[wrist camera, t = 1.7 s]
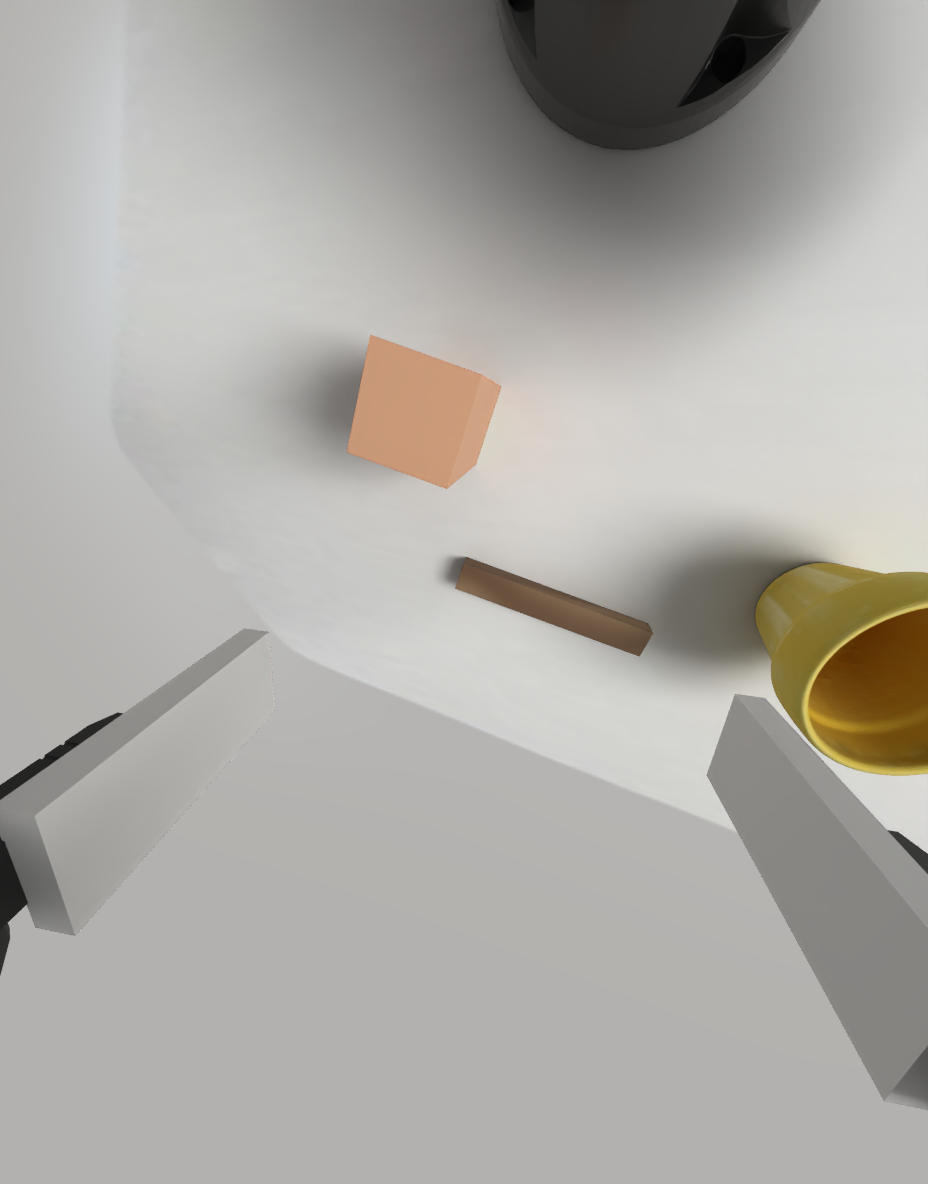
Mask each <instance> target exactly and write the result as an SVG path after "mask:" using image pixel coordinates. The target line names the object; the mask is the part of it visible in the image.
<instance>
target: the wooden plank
mask: <svg viewBox="0 0 928 1184" xmlns="http://www.w3.org/2000/svg"><path fill="white" fill-rule="evenodd" d="M455 589H458V590H461V591H464V592H466V593H469V594H472V595H474V596H477V597H480V598H482V599H485V600H488V601H491V602H493V603H496V604H499V605H501V606H504V607H507V608H510V609H512V610H515V611H518V612H520V613H523V614H526V615H529V616H531V617H534V618H537V619H539V620H542V621H545V622H547V623H550V624H553V625H556V626H558V627H561V628H564V629H566V630H569V631H572V632H575V633H577V634H580V635H583V636H585V637H588V638H591V639H593V640H596V641H599V642H602V643H604V644H607V645H610V646H612V647H615V648H618V649H621V650H623V651H626V652H629V653H631V654H634V655H637V656H640V655H641V653H642V651H643V650H644V648H645V646H646V644H647V643H648V641H649V639H650V638H651V636H652V634H653V632H652V630H651V628H650V627H649V625H648V624H647V623H644V622H642V621H639V620H636V619H634V618H631V617H628V616H625V615H623V614H620V613H617V612H615V611H612V610H609V609H606V608H604V607H601V606H598V605H596V604H593V603H590V602H587V601H585V600H582V599H579V598H576V597H574V596H571V595H568V594H566V593H563V592H560V591H557V590H555V589H552V588H549V587H547V586H544V585H541V584H538V583H536V582H533V581H530V580H528V579H525V578H522V577H519V576H517V575H514V574H511V573H509V572H506V571H503V570H500V569H498V568H495V567H492V566H489V565H487V564H484V563H481V562H479V561H476V560H473V559H470V558H468V557H467V558H466V560H465V562H464V565H463V568H462V570H461V573H460V576H459V579H458V582H457V585H456V588H455Z"/></svg>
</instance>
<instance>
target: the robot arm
mask: <svg viewBox="0 0 928 1184" xmlns="http://www.w3.org/2000/svg"><path fill="white" fill-rule="evenodd" d="M820 1H821V0H496V5H497V11H498V16H499V21H500V26H501V30H502V33H503V37H504V41H505V44H506V47H507V50H508V53H509V55H510V58H511V60H512V63H513V65H514V67H515V70H516V72H517V74H518V76H519V78H520V79H521V81H522V83H523V85H524V86H525V88H526V90H527V91H528V93H529V94H530V96H531V97H532V98H533V100H534V101H535V102H536V104H537V105H538V106H539V107H540V108H541V110H542V111H543V112H544V113H545V114H546V115H547V116H548V117H549V118H550V119H551V120H552V121H554V122H555V123H556V124H557V125H559V126H560V127H561V128H563V129H564V130H566V131H567V132H569V133H570V134H572V135H574V136H576V137H578V138H580V139H582V140H584V141H587V142H589V143H592V144H595V145H599V146H603V147H608V148H615V149H641V148H649V147H654V146H659V145H662V144H666V143H669V142H672V141H675V140H678V139H680V138H683V137H685V136H687V135H689V134H692V133H694V132H696V131H698V130H699V129H701V128H703V127H705V126H706V125H708V124H710V123H711V122H713V121H714V120H716V119H717V118H719V117H720V116H722V115H723V114H724V113H726V112H727V111H728V110H730V109H731V108H732V107H734V106H735V105H736V104H737V103H738V102H739V101H741V100H742V99H743V98H744V97H745V96H746V95H747V94H748V93H749V92H750V91H751V90H752V89H754V88H755V87H756V86H757V85H758V83H759V82H760V81H761V80H762V79H763V78H764V77H765V76H766V75H767V74H768V73H769V71H770V70H771V69H772V68H773V67H774V66H775V64H776V63H777V62H778V61H779V59H780V58H781V57H782V55H783V54H784V53H785V52H786V50H787V49H788V48H789V46H790V45H791V43H792V42H793V40H794V39H795V37H796V36H797V35H798V33H799V32H800V30H801V29H802V27H803V26H804V24H805V23H806V21H807V20H808V18H809V17H810V15H811V14H812V12H813V11H814V10H815V8H816V7H817V5H818V4H819V2H820ZM274 712H275V701H274V688H273V675H272V663H271V651H270V638H269V632H267V631H258V630H252V629H243V630H242V631H240V632H239V633H237V634H236V635H235V636H233V637H232V638H231V639H229V640H227V641H226V642H225V643H223V644H222V645H220V646H219V647H217V648H216V649H215V650H213V651H212V652H210V653H209V654H207V655H206V656H205V657H203V658H202V659H200V660H199V661H198V662H196V663H195V664H193V665H192V666H190V667H189V668H187V669H186V670H185V671H183V672H182V673H180V674H179V675H178V676H176V677H175V678H173V679H172V680H171V681H169V682H168V683H166V684H165V685H163V686H162V687H161V688H159V689H158V690H156V691H155V692H153V693H152V694H151V695H149V696H148V697H146V698H145V699H143V700H142V701H141V702H139V703H138V704H136V705H135V706H133V707H132V708H131V709H129V710H128V711H126V712H125V713H116V714H114V715H111V716H109V717H107V718H105V719H102V720H100V721H98V722H95V723H93V724H91V725H89V726H87V727H86V728H84V729H83V730H81V731H80V732H79V733H77V734H76V735H74V736H72V737H71V738H69V739H68V740H67V741H65V744H64V745H59V746H58V747H56V748H55V749H53V750H52V751H50V752H49V753H47V754H46V755H45V757H44V758H43V759H38V760H37V761H36V762H34V763H32V764H31V765H29V766H28V767H26V768H25V769H24V770H22V771H20V772H19V773H18V774H16V775H15V776H13V777H12V778H10V779H9V780H7V781H6V782H5V783H3V784H1V785H0V974H1V971H2V967H3V963H4V959H5V955H6V952H7V948H8V944H9V940H10V928H9V925H8V922H9V921H10V920H11V919H12V918H13V917H14V916H15V915H16V914H17V913H18V912H19V911H20V910H21V909H22V908H23V907H24V906H25V905H27V907H28V909H29V912H30V914H31V917H32V920H33V922H34V925H35V927H36V928H40V929H45V930H50V931H54V932H60V933H64V934H69V935H74V936H76V935H77V934H78V932H79V931H80V930H81V929H82V928H83V927H84V926H85V925H86V923H87V922H88V921H89V920H90V919H91V918H92V917H93V916H94V914H95V913H96V912H97V911H98V910H99V909H100V908H101V906H102V905H103V904H104V903H105V902H106V901H107V899H109V897H110V896H111V895H112V894H113V893H114V892H115V891H116V890H117V888H118V887H119V886H120V885H121V884H122V883H123V882H124V880H125V879H126V878H127V877H128V876H129V875H130V874H131V873H132V872H133V870H134V869H135V868H136V867H137V866H138V865H139V864H140V862H141V861H142V860H143V859H144V858H145V857H146V856H147V855H148V853H149V852H150V851H151V850H152V849H153V848H154V847H155V846H156V845H157V843H158V842H159V841H160V840H161V839H162V838H163V837H164V836H165V834H166V833H167V832H168V831H169V830H170V829H171V828H172V827H173V825H174V824H175V823H176V822H177V821H178V820H179V819H180V818H181V816H182V815H183V814H184V813H185V812H186V811H187V810H188V809H189V807H190V806H191V805H192V804H193V803H194V801H196V800H197V798H198V797H199V796H200V795H201V794H202V793H203V792H204V790H205V789H206V788H207V787H208V786H209V785H210V784H211V783H212V781H213V780H214V779H215V778H216V777H217V776H218V775H219V774H220V772H221V771H222V770H223V769H224V768H225V767H226V766H227V765H228V763H229V762H230V761H231V760H232V759H233V758H234V757H235V755H236V754H237V753H238V752H239V751H240V750H241V749H242V747H243V746H244V745H245V744H246V743H247V742H248V741H249V740H250V739H251V737H252V736H253V735H254V734H255V733H256V732H257V731H258V730H259V729H260V727H261V726H262V725H263V724H264V723H265V722H266V721H267V720H268V718H269V717H270V716H271V715H272V714H273V713H274ZM707 777H708V779H709V780H710V782H711V784H712V786H713V788H714V790H715V791H716V793H717V795H718V797H719V799H720V801H721V802H722V804H723V806H724V808H725V810H726V812H727V814H728V815H729V817H730V819H731V821H732V823H733V825H734V826H735V828H736V830H737V832H738V834H739V836H740V837H741V839H742V841H743V843H744V845H745V846H746V848H747V850H748V852H749V854H750V856H751V858H752V859H753V861H754V863H755V865H756V866H757V869H758V870H759V872H760V874H761V876H762V878H763V879H764V882H765V883H766V885H767V887H768V889H769V891H770V893H771V894H772V896H773V898H774V900H775V902H776V903H777V905H778V907H779V909H780V911H781V913H782V915H783V916H784V918H785V920H786V922H787V924H788V926H789V927H790V929H791V931H792V933H793V935H794V937H795V938H796V940H797V942H798V944H799V946H800V948H801V950H802V951H803V953H804V955H805V957H806V959H807V961H808V962H809V964H810V966H811V968H812V970H813V972H814V973H815V975H816V977H817V979H818V981H819V983H820V984H821V986H822V988H823V990H824V992H825V994H826V996H827V997H828V999H829V1001H830V1003H831V1005H832V1006H833V1008H834V1010H835V1012H836V1014H837V1015H838V1017H839V1019H840V1021H841V1023H842V1025H843V1027H844V1029H845V1030H846V1032H847V1034H848V1036H849V1038H850V1039H851V1041H852V1043H853V1045H854V1047H855V1049H856V1051H857V1053H858V1054H859V1056H860V1058H861V1060H862V1062H863V1064H864V1065H865V1067H866V1069H867V1071H868V1073H869V1075H870V1076H871V1078H872V1080H873V1082H874V1084H875V1086H876V1087H877V1089H878V1091H879V1093H880V1095H881V1097H882V1098H883V1100H884V1101H886V1102H891V1103H896V1104H900V1105H906V1106H910V1107H915V1108H920V1109H925V1110H928V854H927V853H926V852H924V851H923V850H922V849H920V848H919V847H918V846H916V845H915V844H914V843H912V842H911V841H910V840H908V839H907V838H906V837H904V836H903V835H902V834H900V833H899V832H895V831H889V830H886V829H885V828H884V826H883V825H882V824H881V823H880V822H879V821H878V820H877V819H876V818H875V817H874V816H873V815H872V813H871V812H870V811H869V810H868V809H867V808H866V807H865V806H864V805H863V804H862V803H861V802H860V800H859V799H858V798H857V797H856V796H855V795H854V794H853V793H852V792H851V791H850V790H849V789H848V787H847V786H846V785H845V784H844V783H843V782H842V781H841V780H840V779H839V778H838V777H837V776H836V774H835V773H834V772H833V771H832V770H831V769H830V768H829V767H828V766H827V765H826V764H825V763H824V761H823V760H822V759H821V758H820V757H819V756H818V755H817V754H816V753H815V752H814V751H813V750H812V748H811V747H810V746H809V745H808V744H807V743H806V742H805V741H804V740H803V739H802V738H801V737H800V735H799V734H798V733H797V732H796V731H795V730H794V729H793V728H792V727H791V726H790V725H789V724H788V722H787V721H786V720H785V719H784V718H783V717H782V716H781V715H780V714H779V713H778V712H777V711H776V709H775V708H774V707H773V706H772V705H771V704H770V703H769V702H768V701H767V700H766V699H765V698H760V697H753V696H745V695H738V694H735V696H734V699H733V701H732V704H731V707H730V710H729V713H728V716H727V719H726V721H725V724H724V727H723V730H722V733H721V736H720V739H719V742H718V744H717V747H716V750H715V753H714V756H713V759H712V762H711V764H710V767H709V770H708V773H707Z"/></svg>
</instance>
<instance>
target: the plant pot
mask: <svg viewBox="0 0 928 1184" xmlns="http://www.w3.org/2000/svg"><path fill="white" fill-rule="evenodd" d="M755 620H756V625H757V628H758V631H759V633H760V635H761V638H762V640H763V642H764V644H765V647H766V649H767V651H768V653H769V656H770V658H771V661H772V664H771V679H772V684H773V688H774V691H775V693H776V696H777V698H778V699H779V701H780V703H781V704H782V706H783V708H784V709H785V710H786V712H787V713H788V715H789V716H790V718H791V719H792V720H793V722H794V723H795V724H796V726H797V727H798V728H799V730H800V731H801V732H802V733H803V734H804V736H805V737H806V738H807V739H808V741H809V742H810V743H811V744H812V745H813V746H814V747H815V748H817V749H818V750H819V751H820V752H821V753H823V754H824V755H826V756H827V757H829V758H830V759H832V760H834V761H835V762H837V763H839V764H842V765H844V766H846V767H849V768H852V769H855V770H859V771H863V772H867V773H873V774H881V775H892V776H905V775H918V774H927V773H928V573H924V572H897V573H888V574H883V573H878V572H873V571H868V570H863V569H859V568H854V567H849V566H844V565H840V564H834V563H813V564H807V565H803V566H800V567H797V568H794V569H792V570H790V571H788V572H786V573H784V574H782V575H781V576H779V577H778V578H777V579H775V580H774V581H773V582H772V583H771V584H770V585H769V586H768V587H767V588H766V589H765V591H764V592H763V594H762V595H761V597H760V599H759V601H758V603H757V606H756V612H755Z"/></svg>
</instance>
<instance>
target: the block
mask: <svg viewBox="0 0 928 1184" xmlns="http://www.w3.org/2000/svg"><path fill="white" fill-rule="evenodd" d="M500 389H501V386H500V385H498V384H496V383H495V382H493V381H491V380H490V379H488V378H486V377H485V376H483V375H481V374H479V373H476V372H473V371H470V370H467V369H465V368H462V367H459V366H456V365H453V364H451V363H448V362H445V361H442V360H440V359H437V358H434V357H431V356H428V355H426V354H423V353H420V352H417V351H414V350H412V349H409V348H406V347H403V346H400V345H398V344H395V343H392V342H389V341H387V340H384V339H381V338H378V337H375V336H373V335H370V339H369V344H368V349H367V354H366V359H365V364H364V369H363V373H362V378H361V383H360V388H359V393H358V398H357V403H356V408H355V413H354V418H353V423H352V428H351V433H350V438H349V443H348V448H347V453H350V454H353V455H355V456H358V457H361V458H364V459H366V460H369V461H372V462H375V463H377V464H380V465H383V466H386V467H388V468H391V469H394V470H396V471H399V472H402V473H405V474H407V475H410V476H413V477H416V478H418V479H421V480H424V481H427V482H429V483H432V484H435V485H438V486H440V487H443V488H446V489H447V488H449V487H450V486H451V485H452V484H453V483H455V482H456V481H457V480H458V479H459V478H461V477H462V476H463V475H464V474H465V473H467V472H468V471H469V470H470V469H471V468H472V467H474V466H475V465H476V463H477V460H478V457H479V454H480V451H481V447H482V444H483V441H484V438H485V435H486V432H487V429H488V426H489V423H490V420H491V417H492V414H493V411H494V408H495V405H496V402H497V399H498V395H499V392H500Z"/></svg>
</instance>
